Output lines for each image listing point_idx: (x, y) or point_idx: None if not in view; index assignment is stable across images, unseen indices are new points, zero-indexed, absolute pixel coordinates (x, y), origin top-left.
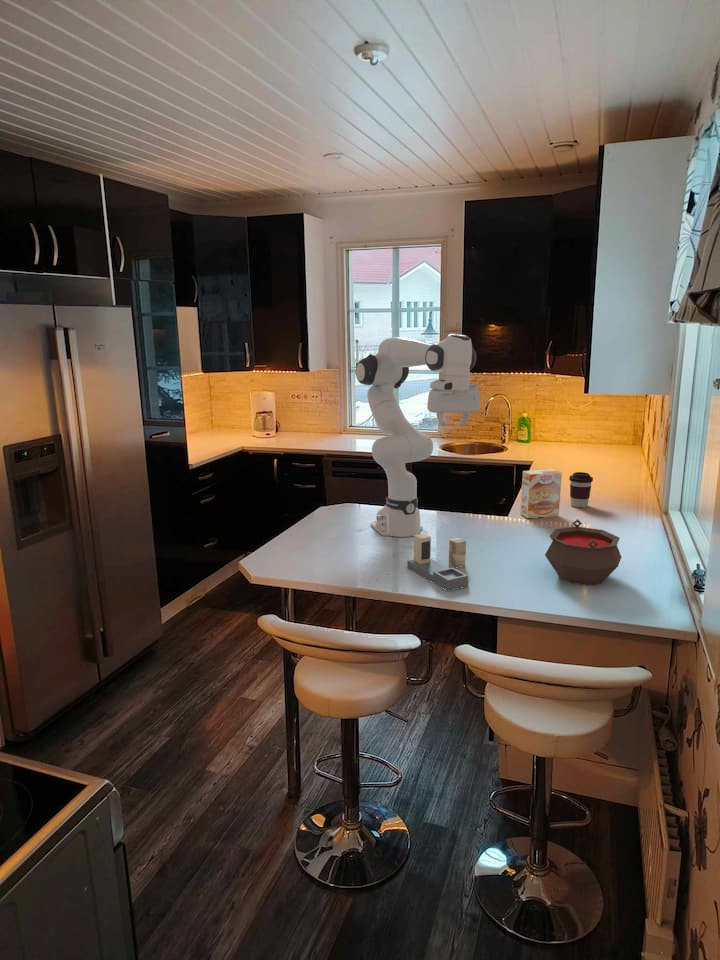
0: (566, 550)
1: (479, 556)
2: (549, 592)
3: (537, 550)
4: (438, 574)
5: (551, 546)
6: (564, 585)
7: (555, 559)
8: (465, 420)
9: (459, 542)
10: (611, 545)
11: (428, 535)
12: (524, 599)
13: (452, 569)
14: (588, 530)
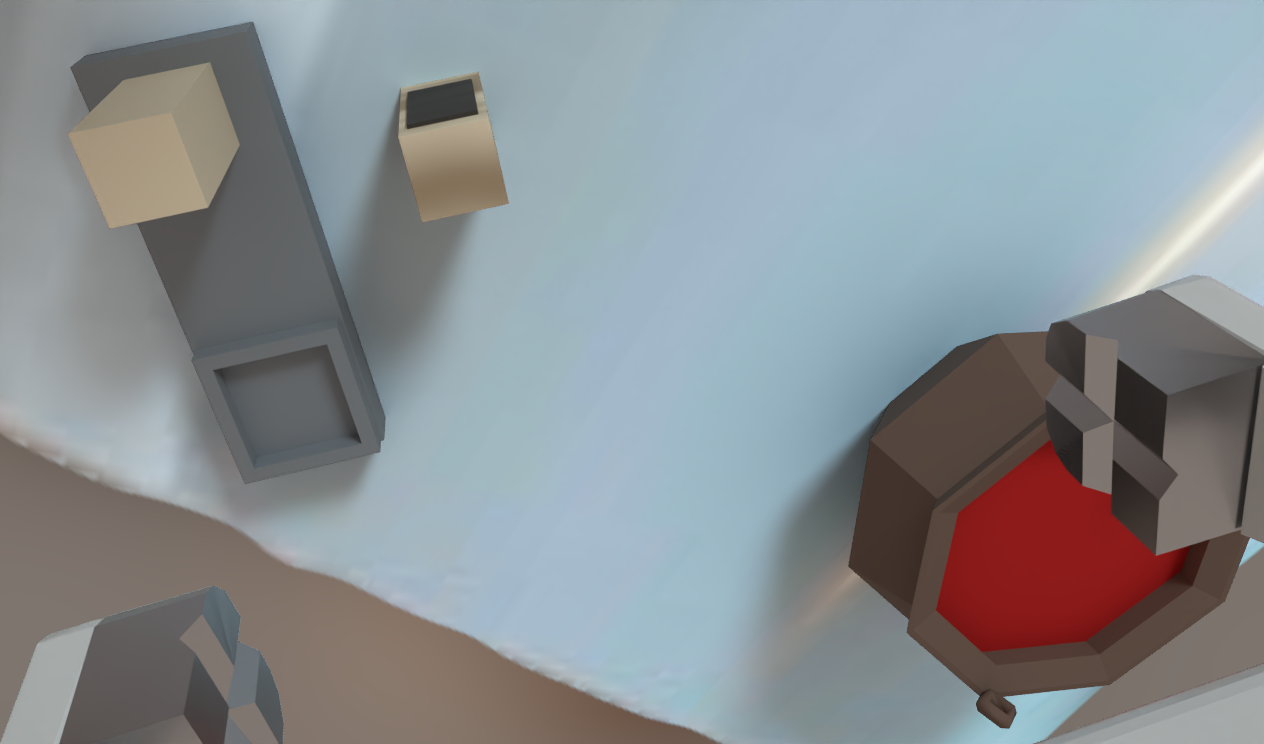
0: (906, 603)
1: (667, 11)
2: (724, 545)
3: (1068, 31)
4: (212, 403)
5: (910, 491)
6: (835, 497)
7: (862, 524)
8: (1206, 520)
9: (449, 216)
10: (1106, 657)
11: (195, 176)
12: (578, 583)
13: (328, 345)
14: None
